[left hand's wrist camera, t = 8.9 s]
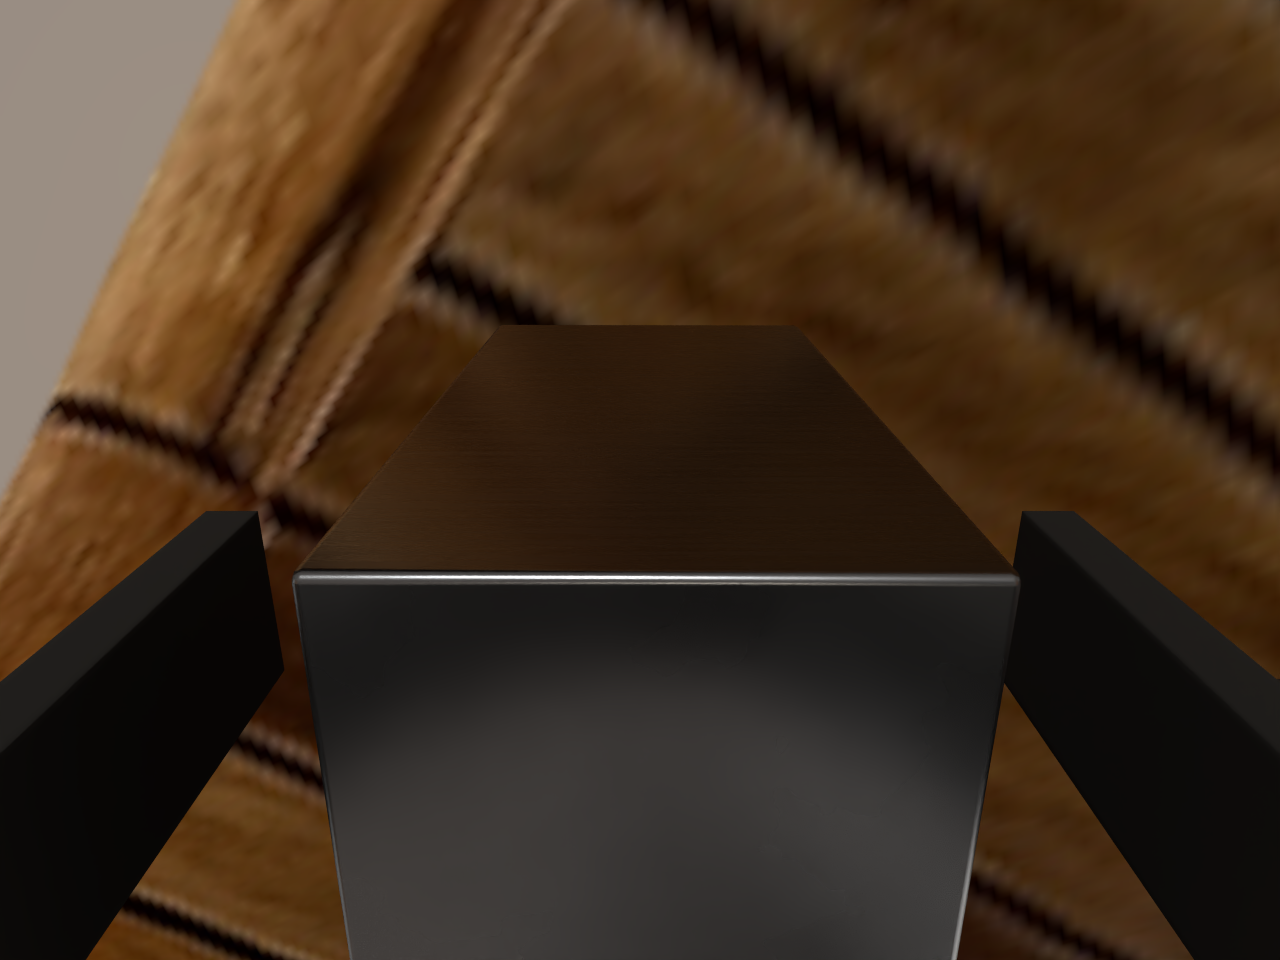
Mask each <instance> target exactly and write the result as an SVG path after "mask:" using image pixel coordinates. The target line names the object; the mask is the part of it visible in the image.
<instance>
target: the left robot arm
mask: <svg viewBox="0 0 1280 960" xmlns="http://www.w3.org/2000/svg"><path fill="white" fill-rule="evenodd" d="M1013 568H1014V569H1015V570H1016V571H1017V572H1018V573H1019V577H1020V580H1021V587H1020V593H1019V599H1018V605H1017V611H1016V616H1015V622H1014V628H1013V634H1012V640H1011V645H1010V651H1009V657H1008V663H1007V669H1006V674H1005V680H1004V683H1005V684H1006V686H1007V687H1008V689H1009V690H1010V692H1011V693H1012V695H1013V696H1014V698H1015V699H1016V701H1017V702H1018V703H1019V705H1020V706H1021V708H1022V709H1023V711H1024V712H1025V714H1026V715H1027V717H1028V718H1029V719H1030V721H1031V722H1032V724H1033V725H1034V727H1035V728H1036V730H1037V731H1038V733H1039V734H1040V736H1041V737H1042V738H1043V740H1044V741H1045V743H1046V744H1047V746H1048V747H1049V749H1050V750H1051V752H1052V753H1053V754H1054V756H1055V757H1056V759H1057V760H1058V762H1059V763H1060V765H1061V766H1062V768H1063V769H1064V771H1065V772H1066V773H1067V775H1068V776H1069V778H1070V779H1071V781H1072V782H1073V784H1074V785H1075V787H1076V788H1077V789H1078V791H1079V792H1080V794H1081V795H1082V797H1083V798H1084V800H1085V801H1086V803H1087V804H1088V806H1089V807H1090V808H1091V810H1092V811H1093V813H1094V814H1095V816H1096V817H1097V819H1098V820H1099V822H1100V823H1101V824H1102V826H1103V827H1104V829H1105V830H1106V832H1107V833H1108V835H1109V836H1110V838H1111V839H1112V840H1113V842H1114V843H1115V845H1116V846H1117V848H1118V849H1119V851H1120V852H1121V854H1122V855H1123V857H1124V858H1125V859H1126V861H1127V862H1128V864H1129V865H1130V867H1131V868H1132V870H1133V871H1134V873H1135V874H1136V875H1137V877H1138V878H1139V880H1140V881H1141V883H1142V884H1143V886H1144V887H1145V889H1146V890H1147V892H1148V893H1149V894H1150V896H1151V897H1152V899H1153V900H1154V902H1155V903H1156V905H1157V906H1158V908H1159V909H1160V910H1161V912H1162V913H1163V915H1164V916H1165V918H1166V919H1167V921H1168V922H1169V924H1170V925H1171V927H1172V928H1173V929H1174V931H1175V932H1176V934H1177V935H1178V937H1179V938H1180V940H1181V941H1182V943H1183V944H1184V945H1185V947H1186V948H1187V950H1188V951H1189V953H1190V954H1191V956H1192V957H1193V959H1194V960H1280V679H1275V678H1274V677H1273V676H1272V675H1271V674H1269V673H1268V672H1267V671H1266V670H1265V669H1263V668H1262V667H1261V666H1260V665H1259V664H1257V663H1256V662H1255V661H1254V660H1253V659H1251V658H1250V657H1249V656H1248V655H1247V654H1245V653H1244V652H1243V651H1242V650H1240V649H1239V648H1238V647H1237V646H1236V645H1234V644H1233V643H1232V642H1231V641H1230V640H1228V639H1227V638H1226V637H1225V636H1224V635H1222V634H1221V633H1220V632H1219V631H1218V630H1216V629H1215V628H1214V627H1213V626H1212V625H1210V624H1209V623H1208V622H1207V621H1206V620H1204V619H1203V618H1202V617H1201V616H1199V615H1198V614H1197V613H1196V612H1195V611H1193V610H1192V609H1191V608H1190V607H1189V606H1187V605H1186V604H1185V603H1184V602H1183V601H1181V600H1180V599H1179V598H1178V597H1177V596H1175V595H1174V594H1173V593H1172V592H1171V591H1169V590H1168V589H1167V588H1166V587H1165V586H1163V585H1162V584H1161V583H1160V582H1158V581H1157V580H1156V579H1155V578H1154V577H1152V576H1151V575H1150V574H1149V573H1148V572H1146V571H1145V570H1144V569H1143V568H1142V567H1140V566H1139V565H1138V564H1137V563H1136V562H1134V561H1133V560H1132V559H1131V558H1130V557H1128V556H1127V555H1126V554H1125V553H1124V552H1122V551H1121V550H1120V549H1119V548H1117V547H1116V546H1115V545H1114V544H1113V543H1111V542H1110V541H1109V540H1108V539H1107V538H1105V537H1104V536H1103V535H1102V534H1101V533H1099V532H1098V531H1097V530H1096V529H1095V528H1093V527H1092V526H1091V525H1090V524H1089V523H1087V522H1086V521H1085V520H1084V519H1083V518H1081V517H1080V516H1079V515H1078V514H1077V513H1075V512H1074V511H1022V516H1021V522H1020V528H1019V534H1018V540H1017V546H1016V552H1015V558H1014V564H1013ZM283 671H284V665H283V659H282V653H281V647H280V641H279V635H278V629H277V623H276V617H275V611H274V605H273V599H272V593H271V588H270V582H269V576H268V570H267V564H266V558H265V552H264V546H263V540H262V534H261V528H260V522H259V516H258V511H206V512H205V513H203V514H202V515H201V516H200V517H199V518H197V519H196V520H195V521H194V522H193V523H191V524H190V525H189V526H188V527H187V528H185V529H184V530H183V531H182V532H181V533H179V534H178V535H177V536H176V537H175V538H173V539H172V540H171V541H170V542H169V543H167V544H166V545H165V546H164V547H162V548H161V549H160V550H159V551H158V552H156V553H155V554H154V555H153V556H152V557H150V558H149V559H148V560H147V561H146V562H144V563H143V564H142V565H141V566H140V567H138V568H137V569H136V570H135V571H134V572H132V573H131V574H130V575H129V576H128V577H126V578H125V579H124V580H123V581H121V582H120V583H119V584H118V585H117V586H115V587H114V588H113V589H112V590H111V591H109V592H108V593H107V594H106V595H105V596H103V597H102V598H101V599H100V600H99V601H97V602H96V603H95V604H94V605H93V606H91V607H90V608H89V609H88V610H87V611H85V612H84V613H83V614H82V615H80V616H79V617H78V618H77V619H76V620H74V621H73V622H72V623H71V624H70V625H68V626H67V627H66V628H65V629H64V630H62V631H61V632H60V633H59V634H58V635H56V636H55V637H54V638H53V639H52V640H50V641H49V642H48V643H47V644H46V645H44V646H43V647H42V648H41V649H39V650H38V651H37V652H36V653H35V654H33V655H32V656H31V657H30V658H29V659H27V660H26V661H25V662H24V663H23V664H21V665H20V666H19V667H18V668H17V669H15V670H14V671H13V672H12V673H11V674H9V675H8V676H7V677H6V678H5V679H3V680H2V681H1V682H0V960H86V959H87V957H88V956H89V954H90V953H91V951H92V950H93V948H94V947H95V945H96V944H97V943H98V941H99V940H100V938H101V937H102V935H103V934H104V932H105V931H106V929H107V928H108V927H109V925H110V924H111V922H112V921H113V919H114V918H115V916H116V915H117V913H118V912H119V910H120V909H121V908H122V906H123V905H124V903H125V902H126V900H127V899H128V897H129V896H130V894H131V893H132V892H133V890H134V889H135V887H136V886H137V884H138V883H139V881H140V880H141V878H142V877H143V875H144V874H145V873H146V871H147V870H148V868H149V867H150V865H151V864H152V862H153V861H154V859H155V858H156V857H157V855H158V854H159V852H160V851H161V849H162V848H163V846H164V845H165V843H166V842H167V840H168V839H169V838H170V836H171V835H172V833H173V832H174V830H175V829H176V827H177V826H178V824H179V823H180V822H181V820H182V819H183V817H184V816H185V814H186V813H187V811H188V810H189V808H190V807H191V805H192V804H193V803H194V801H195V800H196V798H197V797H198V795H199V794H200V792H201V791H202V789H203V788H204V787H205V785H206V784H207V782H208V781H209V779H210V778H211V776H212V775H213V773H214V772H215V770H216V769H217V768H218V766H219V765H220V763H221V762H222V760H223V759H224V757H225V756H226V754H227V753H228V752H229V750H230V749H231V747H232V746H233V744H234V743H235V741H236V740H237V738H238V737H239V735H240V734H241V733H242V731H243V730H244V728H245V727H246V725H247V724H248V722H249V721H250V719H251V718H252V717H253V715H254V714H255V712H256V711H257V709H258V708H259V706H260V705H261V703H262V702H263V700H264V699H265V698H266V696H267V695H268V693H269V692H270V690H271V689H272V687H273V686H274V684H275V683H276V682H277V680H278V679H279V677H280V676H281V674H282V673H283Z"/></svg>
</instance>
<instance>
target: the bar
mask: <svg viewBox="0 0 1280 960" xmlns="http://www.w3.org/2000/svg"><path fill="white" fill-rule="evenodd" d="M292 586H293V592H294V599H295V605H296V612H297V618H298V625H299V631H300V637H301V644H302V650H303V657H304V663H305V670H306V676H307V683H308V689H309V696H310V702H311V709H312V715H313V722H314V728H315V735H316V741H317V747H318V754H319V760H320V767H321V773H322V780H323V786H324V793H325V799H326V806H327V812H328V819H329V825H330V832H331V838H332V844H333V851H334V857H335V864H336V870H337V877H338V883H339V890H340V896H341V903H342V909H343V916H344V922H345V929H346V935H347V942H348V948H349V954H350V960H956V959H957V953H958V947H959V942H960V936H961V930H962V924H963V918H964V913H965V907H966V901H967V895H968V889H969V884H970V878H971V872H972V866H973V860H974V855H975V849H976V843H977V837H978V831H979V825H980V820H981V814H982V808H983V802H984V796H985V791H986V785H987V779H988V773H989V767H990V762H991V756H992V750H993V744H994V738H995V733H996V727H997V721H998V715H999V709H1000V703H1001V698H1002V692H1003V686H1004V680H1005V674H1006V669H1007V663H1008V657H1009V651H1010V645H1011V640H1012V634H1013V628H1014V622H1015V616H1016V611H1017V605H1018V599H1019V593H1020V587H1021V580H1020V577H1019V573H1018V572H1017V571H1016V570H1015V569H1014V568H1013V567H1012V566H1011V565H1010V563H1009V562H1008V561H1007V560H1006V559H1005V558H1004V557H1003V556H1002V554H1001V553H1000V552H999V551H998V550H997V549H996V548H995V547H994V546H993V544H992V543H991V542H990V541H989V540H988V539H987V538H986V537H985V536H984V534H983V533H982V532H981V531H980V530H979V529H978V528H977V527H976V525H975V524H974V523H973V522H972V521H971V520H970V519H969V518H968V517H967V515H966V514H965V513H964V512H963V511H962V510H961V509H960V508H959V507H958V505H957V504H956V503H955V502H954V501H953V500H952V499H951V498H950V497H949V495H948V494H947V493H946V492H945V491H944V490H943V489H942V488H941V486H940V485H939V484H938V483H937V482H936V481H935V480H934V479H933V478H932V476H931V475H930V474H929V473H928V472H927V471H926V470H925V469H924V468H923V466H922V465H921V464H920V463H919V462H918V461H917V460H916V459H915V458H914V456H913V455H912V454H911V453H910V452H909V451H908V450H907V449H906V447H905V446H904V445H903V444H902V443H901V442H900V441H899V440H898V439H897V437H896V436H895V435H894V434H893V433H892V432H891V431H890V430H889V429H888V427H887V426H886V425H885V424H884V423H883V422H882V421H881V420H880V419H879V417H878V416H877V415H876V414H875V413H874V412H873V411H872V410H871V408H870V407H869V406H868V405H867V404H866V403H865V402H864V401H863V400H862V398H861V397H860V396H859V395H858V394H857V393H856V392H855V391H854V390H853V388H852V387H851V386H850V385H849V384H848V383H847V382H846V381H845V380H844V378H843V377H842V376H841V375H840V374H839V373H838V372H837V371H836V369H835V368H834V367H833V366H832V365H831V364H830V363H829V362H828V361H827V359H826V358H825V357H824V356H823V355H822V354H821V353H820V352H819V351H818V349H817V348H816V347H815V346H814V345H813V344H812V343H811V342H810V341H809V339H808V338H807V337H806V336H805V335H804V334H803V333H802V332H801V330H800V329H799V328H798V327H796V326H707V325H502V326H500V327H499V328H498V329H497V330H496V331H495V332H494V334H493V335H492V336H491V337H490V338H489V340H488V341H487V342H486V343H485V344H484V346H483V347H482V348H481V349H480V350H479V352H478V353H477V354H476V355H475V356H474V358H473V359H472V360H471V361H470V362H469V364H468V365H467V366H466V367H465V368H464V369H463V371H462V372H461V373H460V374H459V375H458V377H457V378H456V379H455V380H454V381H453V383H452V384H451V385H450V386H449V387H448V389H447V390H446V391H445V392H444V393H443V395H442V396H441V397H440V398H439V399H438V401H437V402H436V403H435V404H434V405H433V407H432V408H431V409H430V410H429V411H428V413H427V414H426V415H425V416H424V417H423V418H422V420H421V421H420V422H419V423H418V424H417V426H416V427H415V428H414V429H413V430H412V432H411V433H410V434H409V435H408V436H407V438H406V439H405V440H404V441H403V442H402V444H401V445H400V446H399V447H398V448H397V450H396V451H395V452H394V453H393V454H392V456H391V457H390V458H389V459H388V460H387V462H386V463H385V464H384V465H383V466H382V467H381V469H380V470H379V471H378V472H377V473H376V475H375V476H374V477H373V478H372V479H371V481H370V482H369V483H368V484H367V485H366V487H365V488H364V489H363V490H362V491H361V493H360V494H359V495H358V496H357V497H356V499H355V500H354V501H353V502H352V503H351V505H350V506H349V507H348V508H347V509H346V510H345V512H344V513H343V514H342V515H341V516H340V518H339V519H338V520H337V521H336V522H335V524H334V525H333V526H332V527H331V528H330V530H329V531H328V532H327V533H326V534H325V536H324V537H323V538H322V539H321V540H320V542H319V543H318V544H317V545H316V546H315V548H314V549H313V550H312V551H311V552H310V554H309V555H308V556H307V557H306V558H305V559H304V561H303V562H302V563H301V564H300V565H299V567H298V568H297V569H296V570H295V571H294V574H293V578H292Z"/></svg>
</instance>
